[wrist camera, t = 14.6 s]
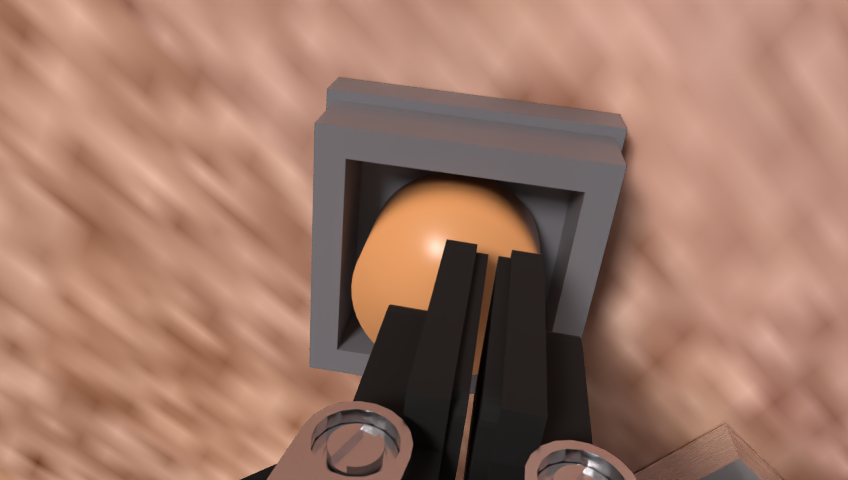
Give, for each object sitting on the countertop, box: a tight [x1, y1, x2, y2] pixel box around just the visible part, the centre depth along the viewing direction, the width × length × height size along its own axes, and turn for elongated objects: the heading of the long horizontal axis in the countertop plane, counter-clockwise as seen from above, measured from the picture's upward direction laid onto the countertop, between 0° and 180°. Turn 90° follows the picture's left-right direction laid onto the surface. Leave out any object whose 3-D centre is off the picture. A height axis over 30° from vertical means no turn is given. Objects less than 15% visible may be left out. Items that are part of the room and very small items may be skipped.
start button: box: [351, 172, 541, 375], centre depth 13 cm, size 4×4×2 cm
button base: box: [310, 77, 627, 394], centre depth 14 cm, size 6×6×3 cm
